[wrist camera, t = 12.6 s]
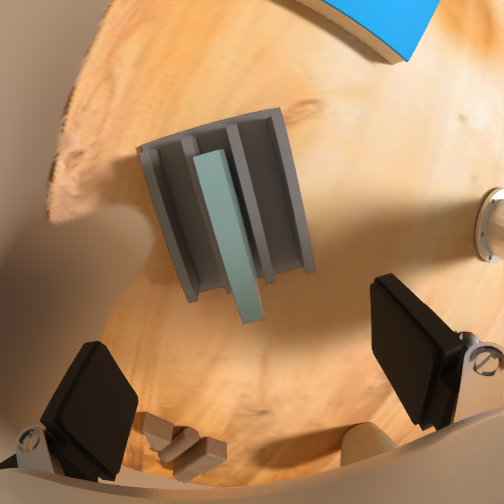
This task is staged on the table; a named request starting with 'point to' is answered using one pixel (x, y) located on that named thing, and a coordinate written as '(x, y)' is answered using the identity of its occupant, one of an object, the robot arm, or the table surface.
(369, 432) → the plant pot
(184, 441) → the wooden block set
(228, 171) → the thin teal board
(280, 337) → the table surface
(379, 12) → the book
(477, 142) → the table surface
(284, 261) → the dish rack
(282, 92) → the table surface
